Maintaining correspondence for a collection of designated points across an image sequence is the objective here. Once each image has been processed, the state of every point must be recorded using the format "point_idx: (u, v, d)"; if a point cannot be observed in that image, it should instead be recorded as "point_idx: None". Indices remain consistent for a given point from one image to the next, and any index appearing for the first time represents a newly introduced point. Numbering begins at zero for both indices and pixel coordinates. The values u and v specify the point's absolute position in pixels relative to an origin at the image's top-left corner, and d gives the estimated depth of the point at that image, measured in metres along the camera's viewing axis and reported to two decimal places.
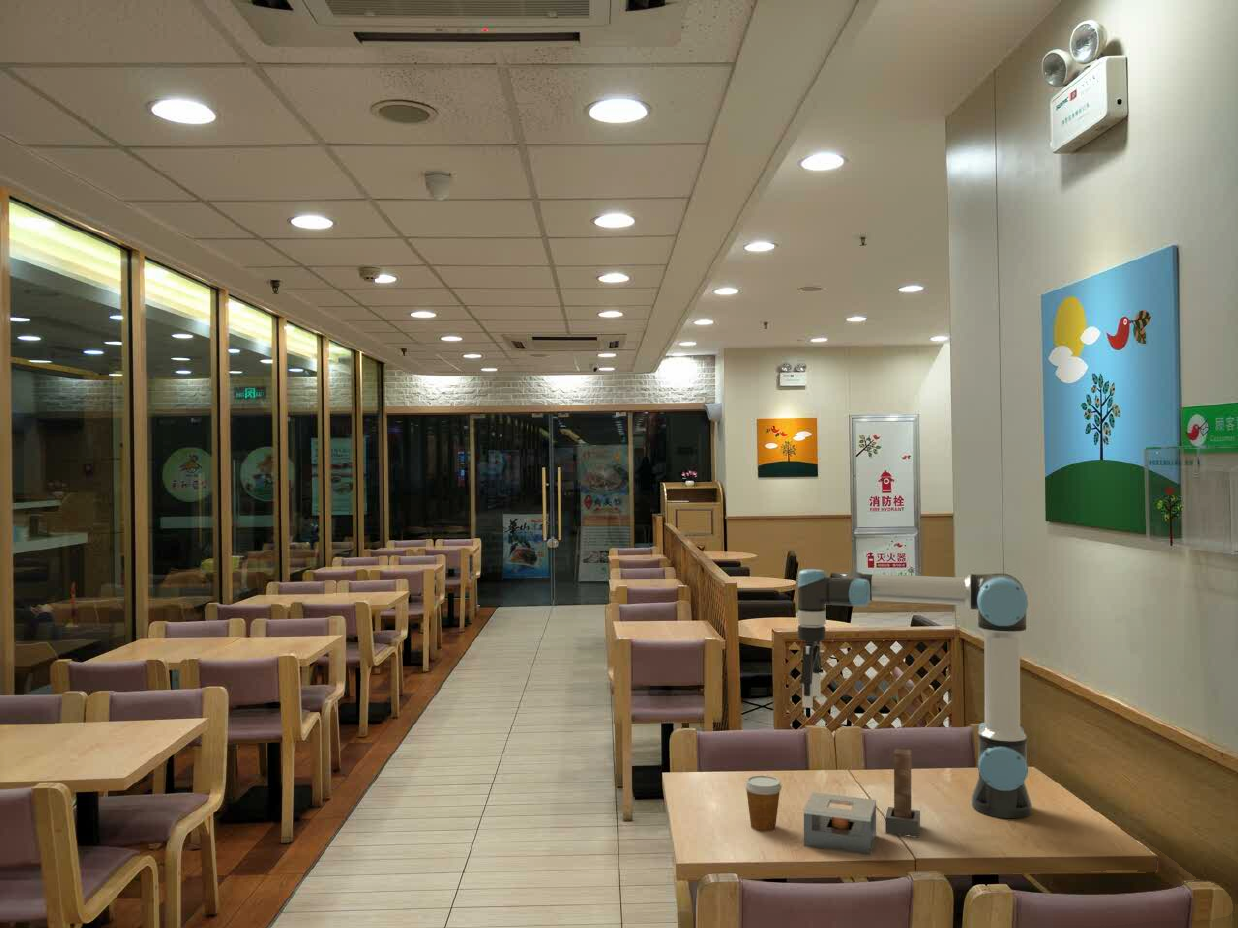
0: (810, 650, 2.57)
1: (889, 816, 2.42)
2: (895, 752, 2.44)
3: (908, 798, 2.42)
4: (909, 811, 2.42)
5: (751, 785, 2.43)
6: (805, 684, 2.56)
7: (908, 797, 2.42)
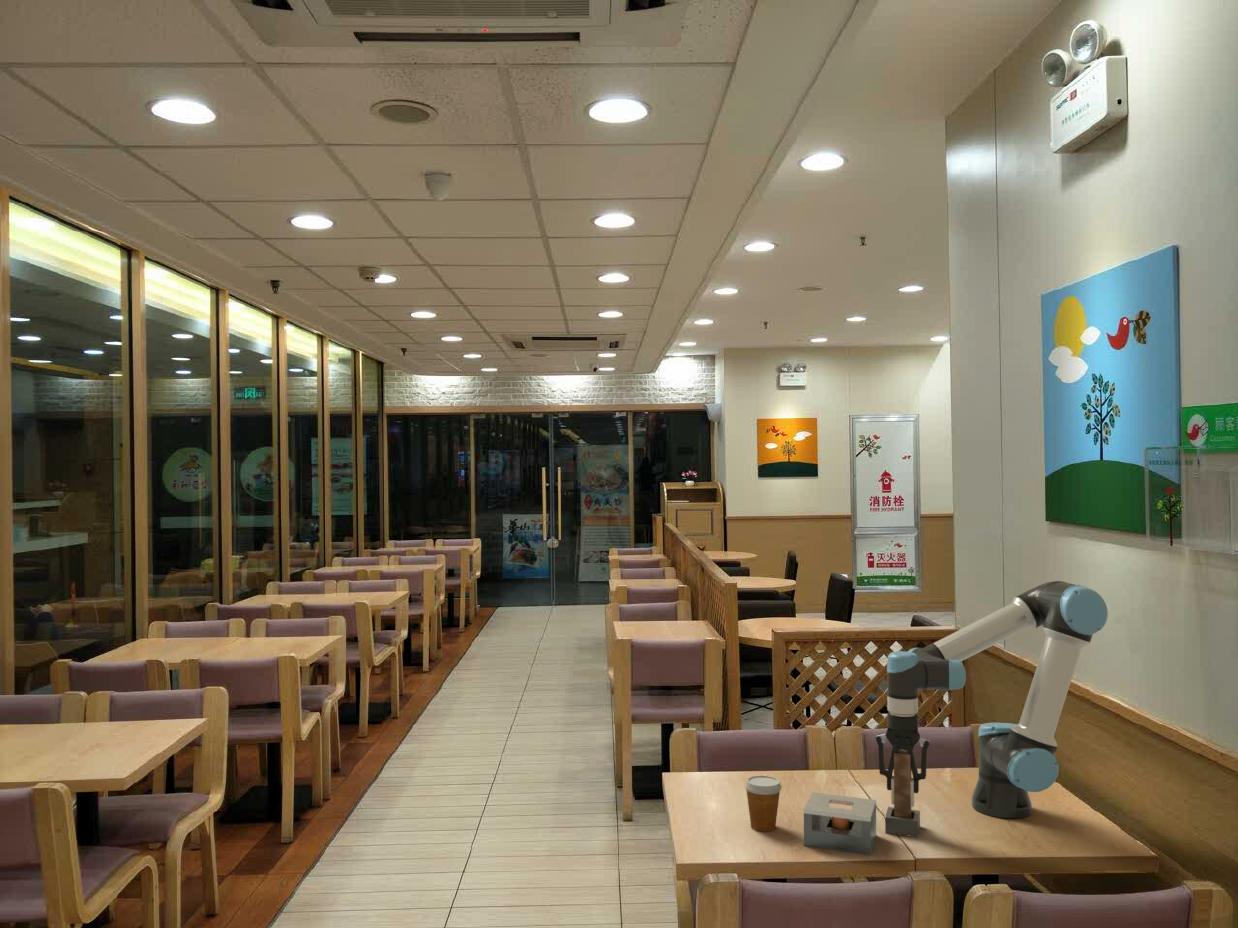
0: None
1: (889, 816, 2.42)
2: None
3: (908, 798, 2.42)
4: (909, 811, 2.42)
5: (751, 785, 2.43)
6: None
7: (908, 797, 2.42)
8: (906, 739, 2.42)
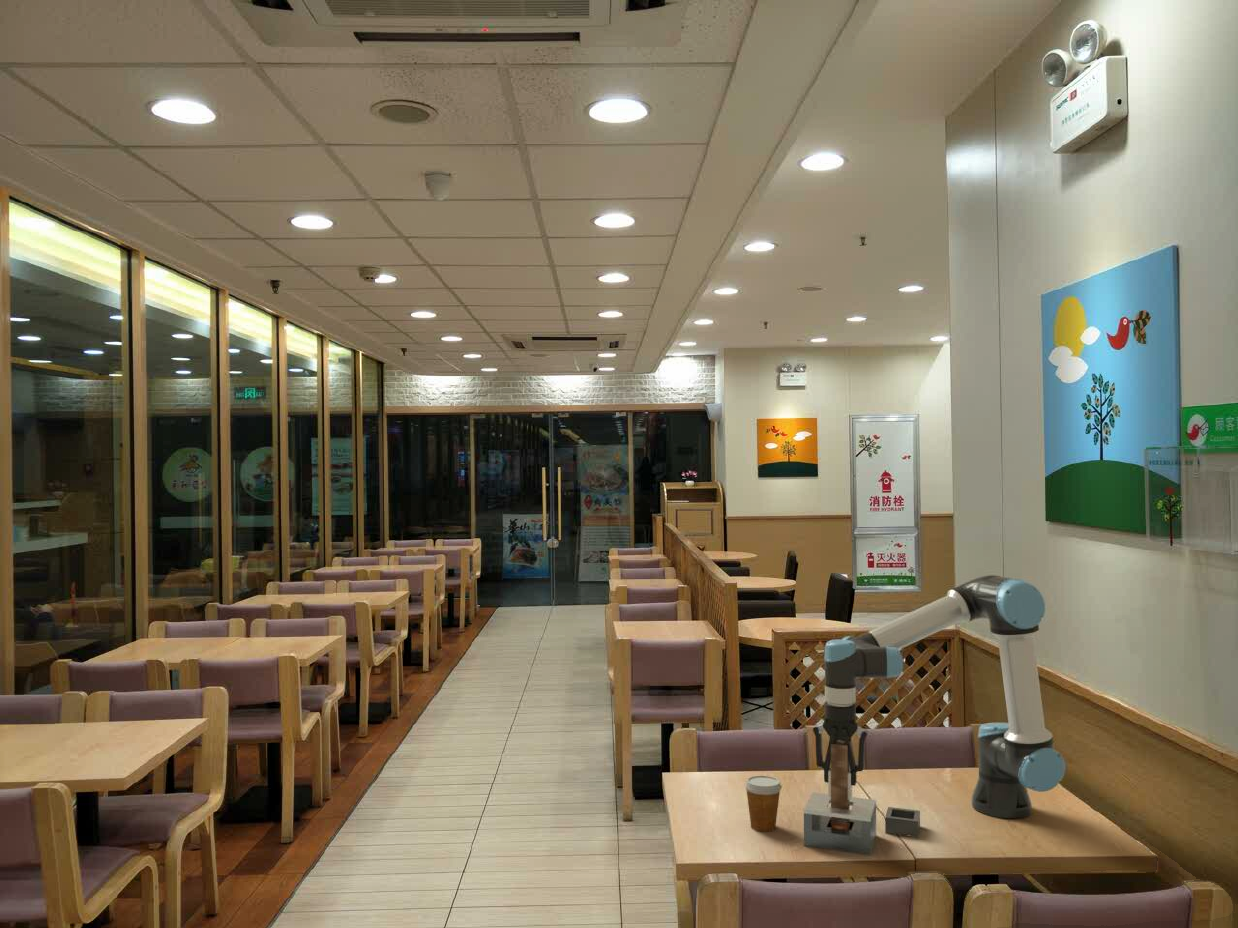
0: None
1: (889, 816, 2.42)
2: None
3: (845, 790, 2.35)
4: (846, 804, 2.35)
5: (751, 785, 2.43)
6: None
7: (845, 789, 2.35)
8: (843, 730, 2.35)
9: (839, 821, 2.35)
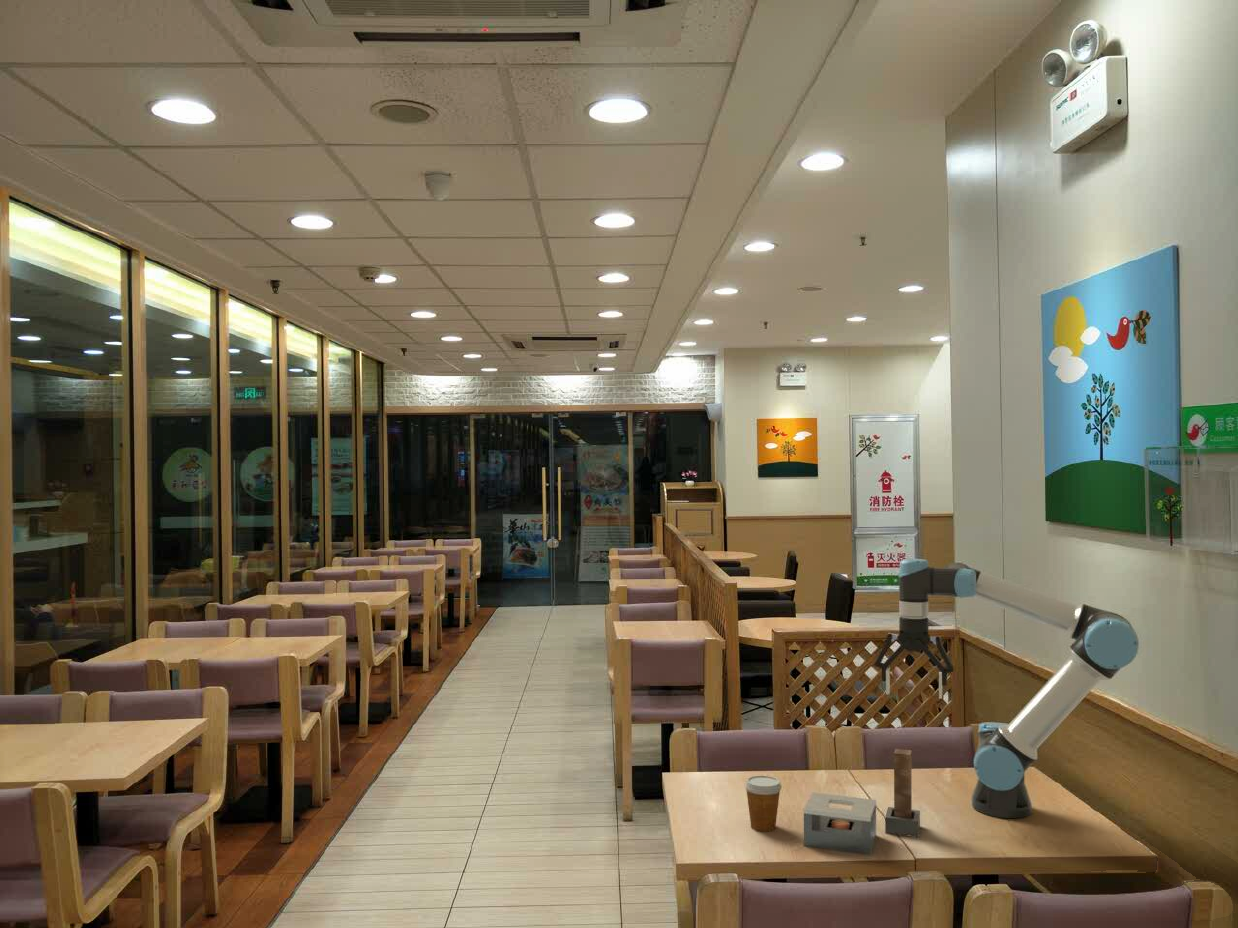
0: (887, 636, 2.57)
1: (889, 816, 2.42)
2: (895, 752, 2.44)
3: (908, 798, 2.42)
4: (909, 811, 2.42)
5: (751, 785, 2.43)
6: None
7: (908, 797, 2.42)
8: (917, 641, 2.53)
9: None
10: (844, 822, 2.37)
